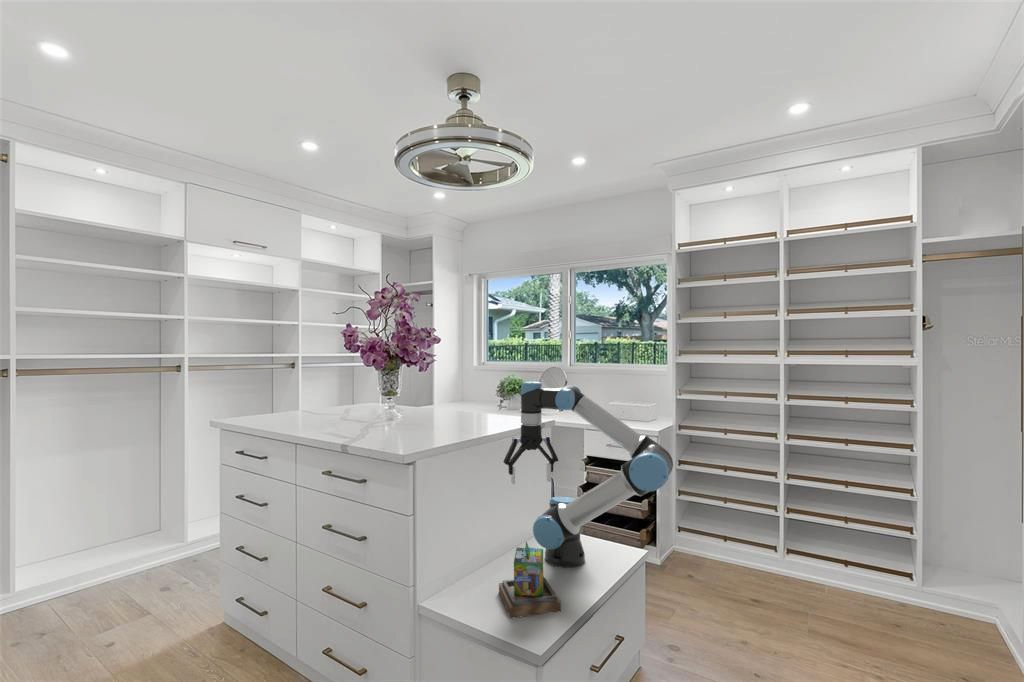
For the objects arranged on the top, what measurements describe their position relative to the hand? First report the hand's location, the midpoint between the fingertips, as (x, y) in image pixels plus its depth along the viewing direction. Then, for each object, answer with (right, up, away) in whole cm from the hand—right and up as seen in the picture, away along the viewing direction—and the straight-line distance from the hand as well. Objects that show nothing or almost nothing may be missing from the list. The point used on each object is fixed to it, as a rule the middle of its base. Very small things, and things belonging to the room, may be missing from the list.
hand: (531, 482), depth 183 cm
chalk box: (-1, -28, -22) cm, 36 cm away
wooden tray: (-2, -32, -23) cm, 39 cm away
